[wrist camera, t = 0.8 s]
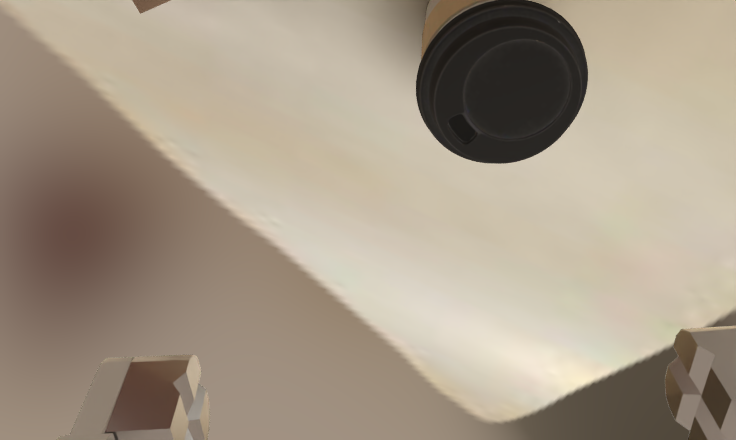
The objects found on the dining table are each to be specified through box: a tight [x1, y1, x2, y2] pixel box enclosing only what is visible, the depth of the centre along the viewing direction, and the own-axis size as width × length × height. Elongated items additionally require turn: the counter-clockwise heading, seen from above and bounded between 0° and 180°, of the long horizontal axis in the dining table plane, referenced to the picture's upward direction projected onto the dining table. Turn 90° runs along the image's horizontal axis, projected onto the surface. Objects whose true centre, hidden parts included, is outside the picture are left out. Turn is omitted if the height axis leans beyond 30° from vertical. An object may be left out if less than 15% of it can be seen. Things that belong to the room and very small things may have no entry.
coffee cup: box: [416, 0, 588, 164], centre depth 42 cm, size 9×9×15 cm
